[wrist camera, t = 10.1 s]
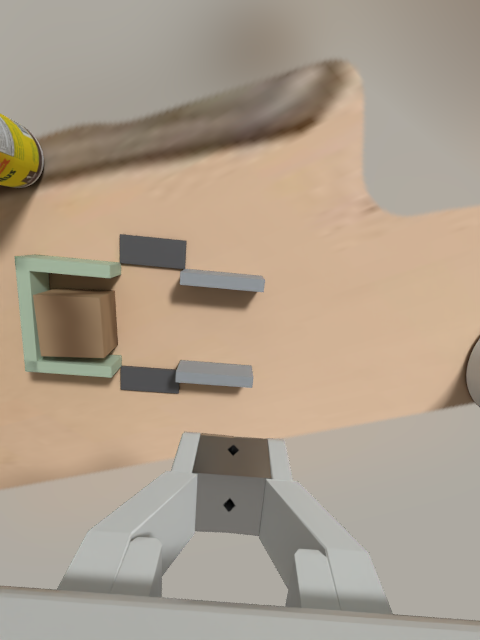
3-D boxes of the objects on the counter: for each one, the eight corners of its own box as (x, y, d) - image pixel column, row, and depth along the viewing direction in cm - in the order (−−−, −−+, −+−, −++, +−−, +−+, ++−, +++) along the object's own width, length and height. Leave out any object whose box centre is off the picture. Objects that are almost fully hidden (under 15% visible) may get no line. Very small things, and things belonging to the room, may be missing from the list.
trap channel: (264, 248, 31) (268, 249, 28) (247, 397, 35) (249, 411, 32) (32, 225, 30) (11, 224, 27) (45, 382, 34) (27, 396, 31)
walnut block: (115, 290, 32) (99, 297, 28) (118, 344, 33) (104, 358, 30) (56, 288, 32) (32, 295, 28) (63, 342, 33) (40, 356, 29)
